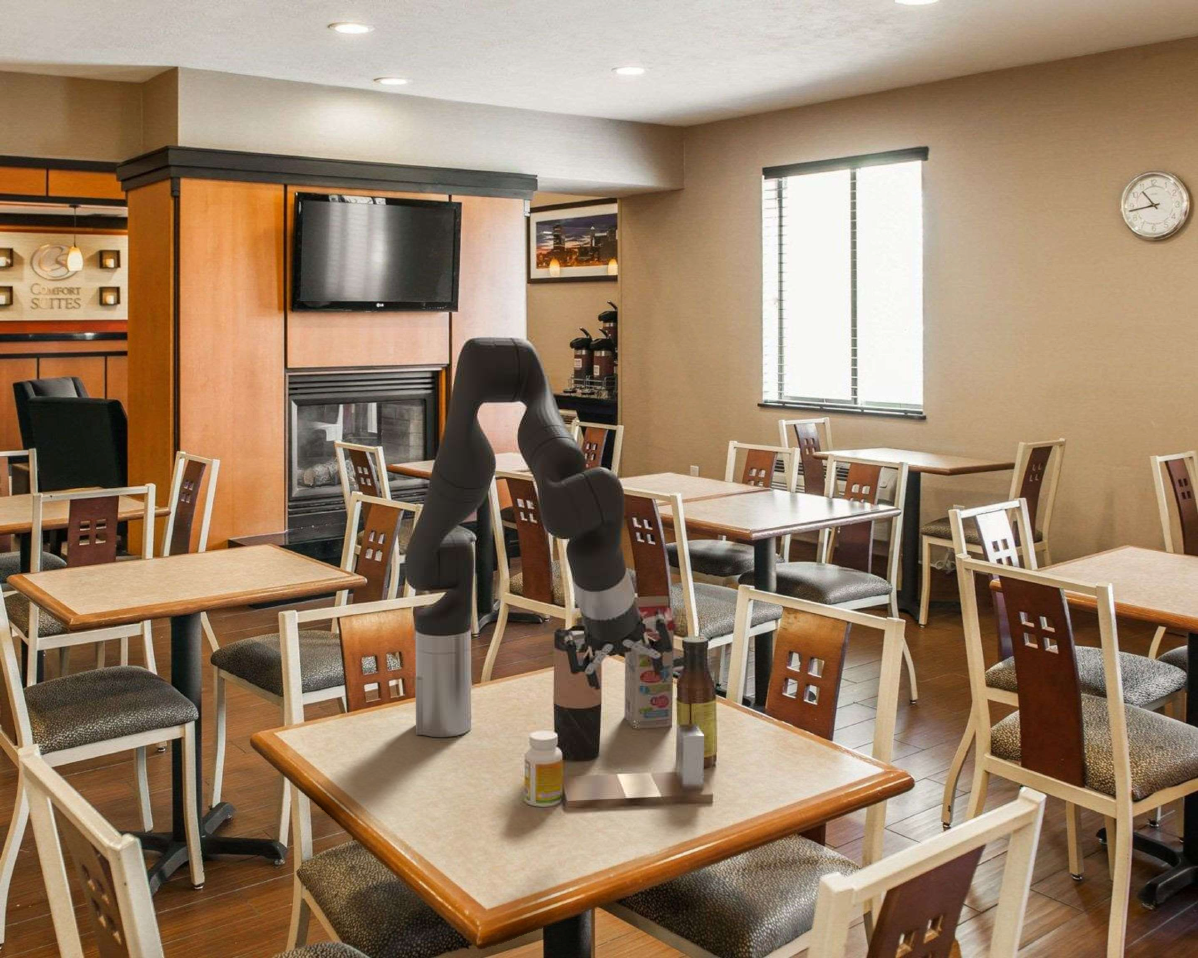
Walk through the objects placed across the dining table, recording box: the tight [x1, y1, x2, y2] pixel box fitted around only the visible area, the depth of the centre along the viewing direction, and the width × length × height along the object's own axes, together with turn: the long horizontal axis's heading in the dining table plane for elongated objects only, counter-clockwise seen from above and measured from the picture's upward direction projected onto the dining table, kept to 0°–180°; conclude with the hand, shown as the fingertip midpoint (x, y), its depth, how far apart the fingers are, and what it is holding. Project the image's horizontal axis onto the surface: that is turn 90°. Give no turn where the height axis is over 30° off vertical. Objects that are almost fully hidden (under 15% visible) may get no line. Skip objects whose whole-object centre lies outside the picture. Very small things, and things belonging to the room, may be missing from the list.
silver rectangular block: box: [675, 724, 704, 790], centre depth 168 cm, size 3×5×8 cm, turn 8°
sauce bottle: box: [675, 635, 718, 769], centre depth 179 cm, size 6×6×20 cm
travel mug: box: [552, 624, 603, 762], centre depth 183 cm, size 8×8×20 cm
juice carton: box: [623, 595, 675, 730], centre depth 198 cm, size 7×7×22 cm
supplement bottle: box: [524, 730, 563, 808], centre depth 165 cm, size 5×5×10 cm
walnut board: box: [562, 771, 714, 810], centre depth 168 cm, size 21×9×1 cm, turn 98°
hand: (626, 677), depth 161 cm, fingers open, 8 cm apart
